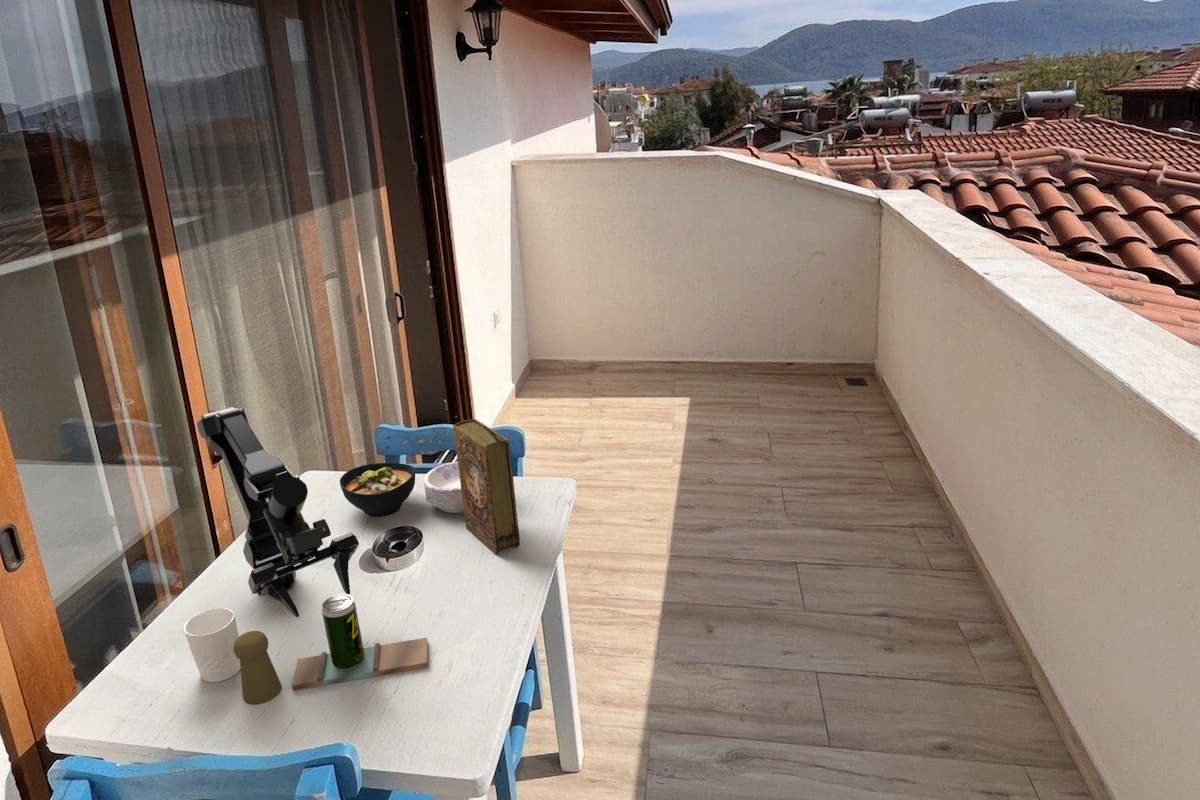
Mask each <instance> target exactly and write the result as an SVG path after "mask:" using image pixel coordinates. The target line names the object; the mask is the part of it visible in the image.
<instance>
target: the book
mask: <svg viewBox="0 0 1200 800" xmlns="http://www.w3.org/2000/svg"><path fill="white" fill-rule="evenodd" d="M452 426H453V435H454V441H455V451H456V458H457V462H458V468H459V476H460V483H461V491H462V499H463V507H464V512H463V513H464V522H465V529H466V530H467V531H468V532H469V533H470V532H471V533H472V534H471V533H470V534H471V535H473V537H475V538H476V539H477V540H479V542H480V543H482V545H484V546H485V547H486V548H487V549H488V550H490V551H491V552H492V553H493V554H495V555H498V554H499V553H500V552H502V551H503V550H506V549H508V548H509V549H510V548H513V547H519V546H521V545H520V544H521V543H520V542H521V539H520V530H519V529H520V528H519V522H518V511H517V500H516V493H515V483H514V476H513V475H514V473H513V465H512V464H513V463H512V462H513V461H512V454H511V447H510V446H511V445H510V444H511V443H510V440H509V438H506V437H504V436H503V435H502V434H500V433H498V432H497V431H495V430H494V429H492V428H491V427H489V426H488V425H486V424H484V423H482V422H481V421H479V420H478V419H473V418H472V419H466V420H462V421H458V422H456V423H454V424H453V425H452Z"/></svg>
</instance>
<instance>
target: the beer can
mask: <svg viewBox="0 0 1200 800" xmlns="http://www.w3.org/2000/svg"><path fill="white" fill-rule="evenodd" d="M321 615H322V619H323V625H324V629H325V633H326V639H327V644H328V649H329V654H331V659H332V664H333V665H334V667H335V668H336V669H337V670H339V671H350V670H353V669H356V668H357V667H359V666H360V665H361V664H362V662H363V660H364V657H365V653H364V648H365V647H364V644H363V639H362V638H363V637H362V633H361V628H360V622H359V618H358V616H359V615H358V612H357V606H356V602H355V600H354V598H353V596H352V595H351V594H350V595H347V594H346V593H342V594H341V593H340V594H334V595H332V596H330V597H327V599H326V600H324V601H323V603H322V609H321Z"/></svg>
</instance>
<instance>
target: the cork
mask: <svg viewBox="0 0 1200 800" xmlns="http://www.w3.org/2000/svg"><path fill="white" fill-rule="evenodd" d="M268 649H269V639H268V637H267V636H266V634H265V633H264V632H262V631H260V630H251V631H247V632H245V633H242V634H240V635H239V637H238V638H237V639H236V641H235V643H234V653H235V655H236V657H237V658H238V659H240V668H241V669H240V678H241V690H242V691H241V692H242V699H243V701H244V703H246V704H248V705H251V706H255V705H257V706H258V705H263V704H266V703H268V702H270V701H272V700H273V699H275V698H276V697H277V696H278V695H279V694H280V693H281V691H282V689H283V688H282V687H283V686H282V683H281V681H280V679H279V677H278V674H277V671H276V669H275V667H274V665H273V662H272V659H271V658H270V654H269V653H268Z"/></svg>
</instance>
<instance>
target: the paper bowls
mask: <svg viewBox="0 0 1200 800" xmlns="http://www.w3.org/2000/svg"><path fill="white" fill-rule="evenodd" d="M423 486H424V492H425V498H426V501H427V503H429V504H430V505H433V506H435V507H437V508H438V509H439V510H440V511H442V512H445V513H448V514H449V513H450V514H459V513H460V514H462V513H464V507H463V499H462V491H461V483H460V476H459V468H458V461H452V462H447V463H444V464H440V465H438V466H436V467H433V468H432V469H431V470H429V471H428V472H427V473H426V474H425V476H424V479H423Z"/></svg>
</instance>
